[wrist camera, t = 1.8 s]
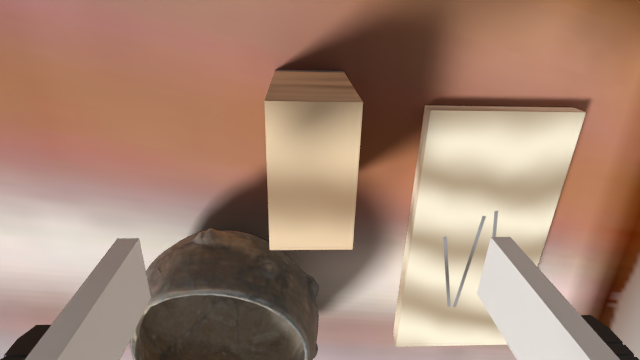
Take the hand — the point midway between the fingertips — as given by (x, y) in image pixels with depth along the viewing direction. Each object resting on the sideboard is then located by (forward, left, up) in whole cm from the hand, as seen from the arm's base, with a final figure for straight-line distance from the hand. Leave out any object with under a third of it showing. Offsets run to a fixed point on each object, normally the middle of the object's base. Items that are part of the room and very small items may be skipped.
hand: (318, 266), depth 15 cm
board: (+10, +15, -17) cm, 25 cm away
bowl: (+14, -6, -18) cm, 23 cm away
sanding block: (0, 0, -18) cm, 18 cm away
